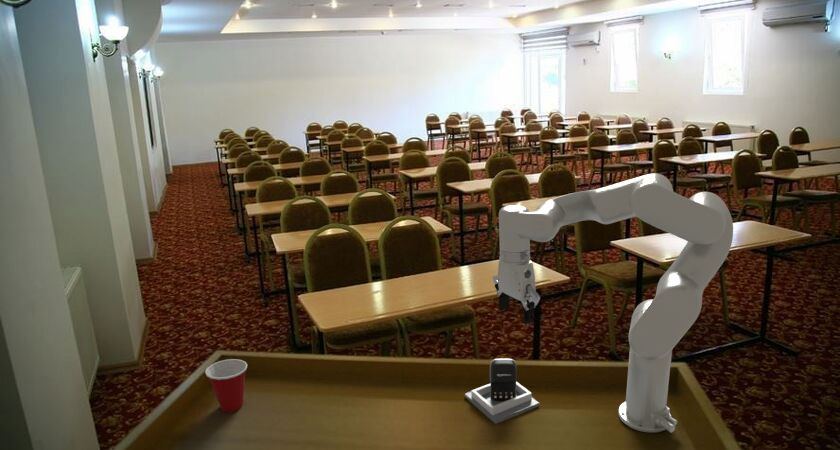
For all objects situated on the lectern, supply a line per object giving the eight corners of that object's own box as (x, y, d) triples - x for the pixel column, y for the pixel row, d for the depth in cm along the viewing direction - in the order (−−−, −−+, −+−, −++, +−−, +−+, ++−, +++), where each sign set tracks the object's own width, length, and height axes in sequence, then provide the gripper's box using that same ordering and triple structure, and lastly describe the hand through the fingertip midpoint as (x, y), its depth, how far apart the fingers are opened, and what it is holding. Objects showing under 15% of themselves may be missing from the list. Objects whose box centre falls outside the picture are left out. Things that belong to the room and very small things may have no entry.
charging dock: (539, 406, 163) (539, 396, 162) (495, 424, 156) (495, 414, 155) (506, 381, 174) (506, 371, 173) (464, 396, 168) (464, 387, 167)
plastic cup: (258, 394, 173) (253, 356, 169) (244, 418, 163) (238, 378, 159) (221, 393, 174) (214, 356, 170) (204, 417, 164) (197, 377, 160)
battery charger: (490, 403, 163) (490, 365, 159) (489, 394, 167) (489, 357, 163) (517, 403, 163) (517, 365, 159) (516, 394, 166) (516, 357, 163)
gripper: (549, 260, 151) (549, 323, 157) (504, 242, 166) (506, 300, 171) (526, 267, 148) (527, 332, 153) (482, 248, 162) (484, 308, 167)
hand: (516, 315), depth 162 cm, fingers open, 9 cm apart
